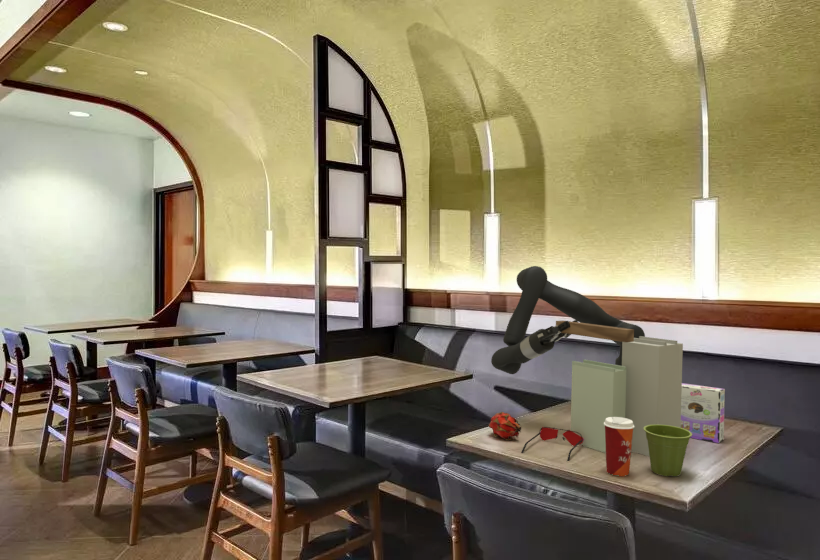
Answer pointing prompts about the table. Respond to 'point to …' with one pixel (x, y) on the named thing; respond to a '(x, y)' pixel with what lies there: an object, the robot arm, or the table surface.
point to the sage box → (596, 399)
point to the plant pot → (667, 448)
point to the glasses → (552, 433)
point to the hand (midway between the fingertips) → (572, 323)
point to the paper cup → (618, 445)
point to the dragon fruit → (504, 425)
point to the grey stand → (652, 385)
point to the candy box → (703, 412)
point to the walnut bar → (599, 331)
